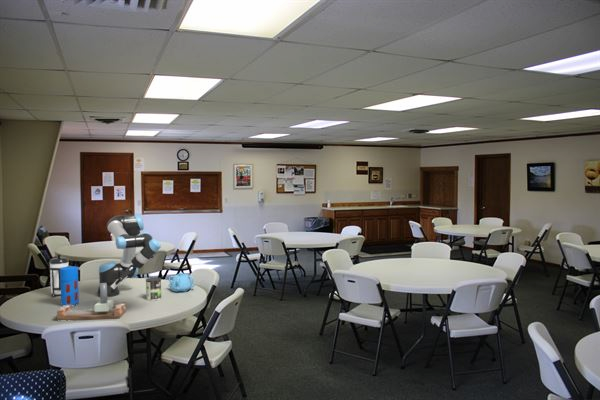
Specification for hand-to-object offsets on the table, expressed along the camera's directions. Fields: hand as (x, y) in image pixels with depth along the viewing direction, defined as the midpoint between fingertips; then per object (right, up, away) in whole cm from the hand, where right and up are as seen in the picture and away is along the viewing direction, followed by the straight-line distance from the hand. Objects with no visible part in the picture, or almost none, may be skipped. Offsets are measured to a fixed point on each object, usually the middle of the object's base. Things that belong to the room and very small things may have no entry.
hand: (115, 285), depth 282 cm
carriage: (-8, -15, +1) cm, 17 cm away
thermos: (-42, -19, +28) cm, 54 cm away
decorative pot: (+24, -16, +62) cm, 69 cm away
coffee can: (+11, -17, +40) cm, 45 cm away
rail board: (-15, -19, 0) cm, 24 cm away
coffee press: (-62, -17, +53) cm, 83 cm away
